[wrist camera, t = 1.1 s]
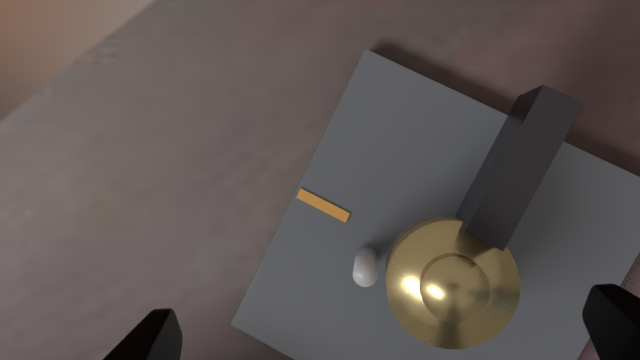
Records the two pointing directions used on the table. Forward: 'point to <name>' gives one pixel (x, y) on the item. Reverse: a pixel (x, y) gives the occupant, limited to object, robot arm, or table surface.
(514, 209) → the brass dome with handle
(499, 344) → the socket base
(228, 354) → the table surface
